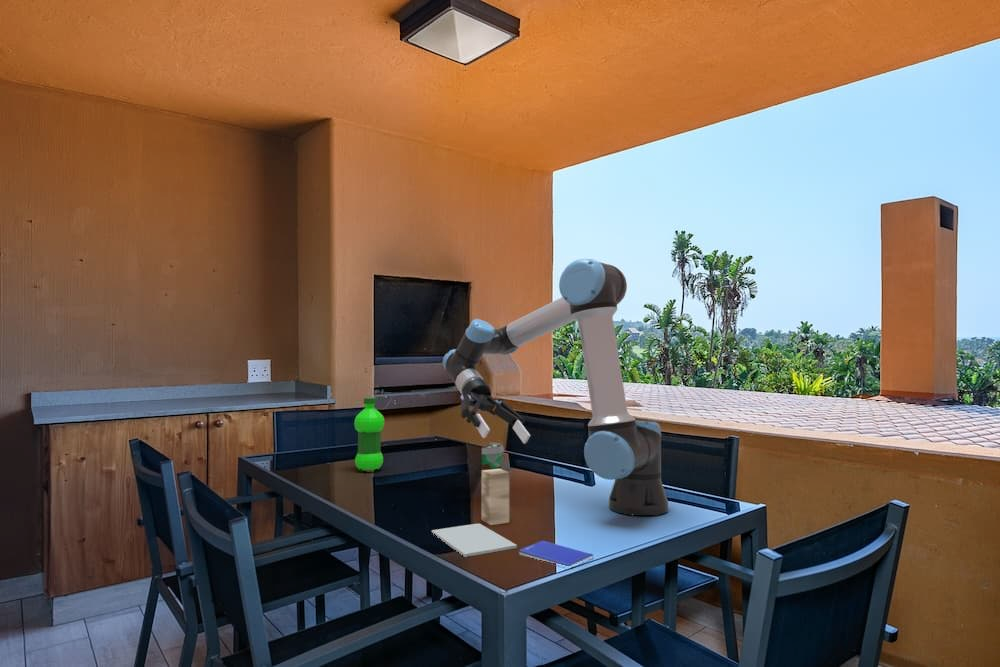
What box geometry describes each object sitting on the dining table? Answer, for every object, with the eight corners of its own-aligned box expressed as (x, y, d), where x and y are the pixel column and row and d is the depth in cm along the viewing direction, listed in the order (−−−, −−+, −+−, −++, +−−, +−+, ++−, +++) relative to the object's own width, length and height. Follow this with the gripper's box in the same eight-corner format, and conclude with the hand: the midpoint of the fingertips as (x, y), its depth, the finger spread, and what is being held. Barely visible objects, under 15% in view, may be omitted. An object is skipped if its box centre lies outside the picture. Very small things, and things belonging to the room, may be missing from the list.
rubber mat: (431, 533, 134) (431, 530, 134) (479, 525, 140) (479, 523, 140) (464, 557, 118) (464, 554, 118) (516, 548, 124) (516, 545, 124)
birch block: (481, 520, 145) (481, 470, 145) (499, 517, 147) (499, 468, 148) (490, 525, 141) (490, 474, 141) (509, 522, 143) (509, 472, 143)
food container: (500, 479, 191) (500, 448, 192) (481, 478, 193) (481, 447, 193) (507, 472, 203) (507, 442, 204) (489, 471, 205) (489, 442, 205)
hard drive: (519, 549, 120) (569, 564, 112) (543, 540, 126) (593, 553, 118) (519, 557, 120) (569, 572, 112) (543, 547, 126) (593, 561, 118)
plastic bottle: (347, 472, 202) (348, 398, 203) (367, 467, 212) (367, 396, 212) (371, 475, 198) (372, 399, 199) (390, 469, 207) (390, 397, 208)
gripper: (501, 405, 176) (535, 452, 160) (430, 392, 160) (461, 443, 145) (513, 384, 173) (549, 430, 158) (442, 369, 158) (475, 419, 143)
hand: (507, 436), depth 151 cm, fingers open, 13 cm apart
